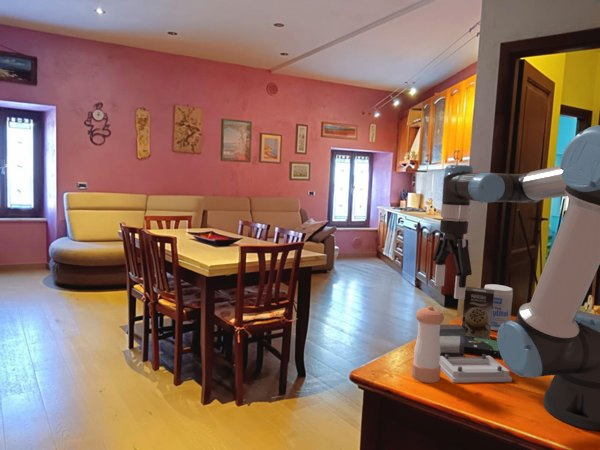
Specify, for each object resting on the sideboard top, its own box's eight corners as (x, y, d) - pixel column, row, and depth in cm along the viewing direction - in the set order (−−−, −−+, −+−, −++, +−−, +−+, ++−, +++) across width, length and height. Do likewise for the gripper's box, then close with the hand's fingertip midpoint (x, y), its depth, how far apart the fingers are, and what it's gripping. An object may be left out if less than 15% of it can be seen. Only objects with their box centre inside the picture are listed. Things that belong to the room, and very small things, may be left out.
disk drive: (452, 354, 138) (505, 360, 134) (453, 345, 137) (506, 351, 133) (451, 342, 148) (500, 347, 144) (451, 333, 147) (501, 339, 143)
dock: (511, 381, 119) (512, 370, 118) (453, 382, 117) (454, 370, 116) (487, 362, 130) (488, 351, 130) (434, 363, 129) (435, 352, 128)
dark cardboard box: (460, 337, 151) (464, 289, 149) (461, 331, 157) (465, 285, 155) (489, 342, 147) (494, 293, 145) (489, 335, 153) (494, 289, 151)
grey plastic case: (463, 359, 133) (465, 329, 132) (430, 359, 131) (432, 329, 130) (457, 353, 137) (459, 324, 136) (425, 353, 136) (427, 324, 134)
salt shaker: (410, 369, 124) (415, 301, 122) (438, 372, 123) (443, 303, 120) (412, 381, 117) (417, 308, 114) (441, 384, 115) (447, 311, 113)
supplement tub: (488, 331, 157) (491, 290, 155) (475, 322, 166) (478, 283, 165) (514, 332, 158) (518, 290, 156) (500, 323, 167) (504, 284, 166)
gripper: (489, 225, 118) (482, 304, 120) (448, 215, 142) (443, 281, 145) (462, 224, 117) (455, 304, 119) (425, 214, 141) (420, 281, 144)
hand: (448, 291), depth 132 cm, fingers open, 13 cm apart
